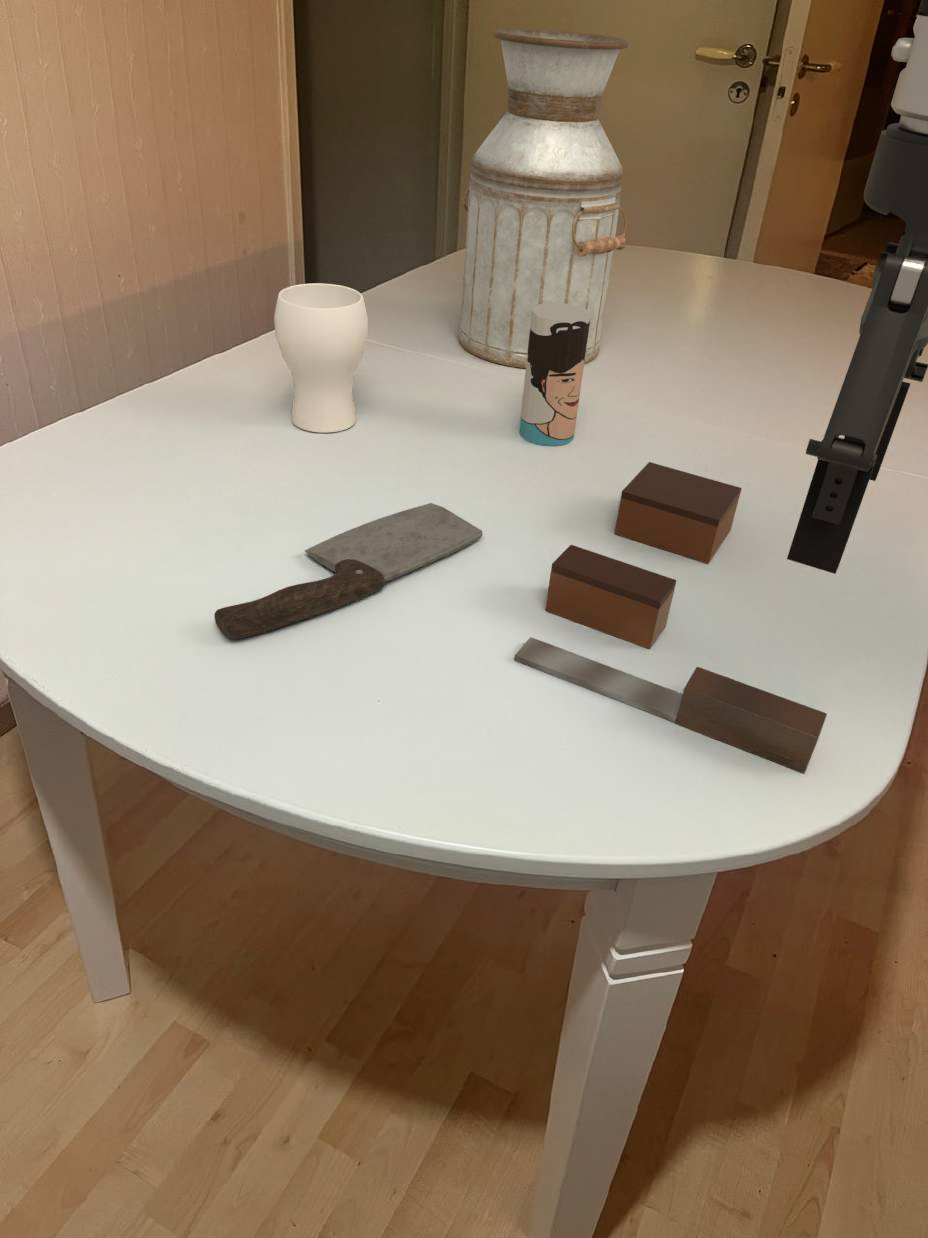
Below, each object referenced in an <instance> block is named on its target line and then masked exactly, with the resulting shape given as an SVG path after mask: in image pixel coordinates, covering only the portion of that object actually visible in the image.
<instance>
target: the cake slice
mask: <svg viewBox="0 0 928 1238" xmlns="http://www.w3.org/2000/svg"><path fill="white" fill-rule="evenodd" d="M550 568H551V569H550V573H549V582H548V587H547V588H548V589H547V594H546V603H545V612H548V613H551V614H552V615H553V614H554V615H557V616H559V617H561V618H564V619H567V620H570V621H573V622H575V623H578V624H580V625H583V626H586V627H589V628H591V629H594V630H597V631H600V632H602V633H604V634H608V635H610V636H613V637H615V638H618V639H621V640H623V641H627V642H629V643H631V644H634V645H637V646H640V647H643V648H645V649H648V650H651V648H652V647H653V646H654V644H655V643H656V641H657V640H658V639H659V637H660V636H661V634H662V633H663V632H664V630H665V629H666V626H667V624H668V623H667V622H668V618H669V614H670V610H671V607H672V606H671V605H672V602H673V597H674V595H675V594H674V593H675V590H676V586H677V585H676V584H677V579H675V578H672V577H669V576H666V575H662V574H660V573H657V572H654V571H650V570H648V569H646V568H645V569H644V568H642V567H639V566H636V565H633V564H630V563H627V562H625V561H621V560H618V559H615V558H612V557H609V556H607V555H605V554H604V555H603V554H601V553H597V552H594V551H592V550H588V549H585V548H582V547H580V546H577V545H573V544H570V545H569V546H568V547H567V548H566V549H565V550H564V551H562V552H561V554H560V555H559V556H558V557H557V558H556V559H555V560H554V561H553V562H552V563H551V567H550Z"/></svg>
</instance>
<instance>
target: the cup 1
mask: <svg viewBox="0 0 928 1238" xmlns="http://www.w3.org/2000/svg"><path fill="white" fill-rule="evenodd" d="M273 321H274V322H273V323H274V336H275V339H276V341H277V342H276V343H277V344H278V347H279V348H278V349H279V350H280V354H281V356H282V358H283V360H284V362H285V363H286V366H287V367H288V369H289V370H290V372H291V377H292V382H293V388H294V395H293V404H292V412H291V421H292V423H293V425H294V426H296V427H297V428H299V429H300V430H301V429H302V430H304V431H307V432H313V433H323V434H326V433H328V434H329V433H336V432H342V431H345V430H348V429H349V428H351V427H353V426H354V425H355V423H356V421H357V417H356V409H355V404H354V398H353V392H352V390H353V383H354V375H355V372H356V370H357V368H358V366H359V364H360V362H361V360H362V359H363V356H364V352H365V349H366V346H367V342H368V337H369V317H368V312H367V308H366V304H365V300H364V296H363V295H362V293H361V292H359V291H358V290H357V289H354V288H352V287H348V286H345V285H340V284H335V283H321V282H315V283H301V284H296V285H290V286H287V287H285V288H283V289H281V290H280V291H279V292H278V296H277V299H276V305H275V310H274V316H273Z"/></svg>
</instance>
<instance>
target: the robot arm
mask: <svg viewBox="0 0 928 1238" xmlns="http://www.w3.org/2000/svg"><path fill="white" fill-rule="evenodd" d="M917 13H920V14H917V16H916V19H915V22H914V24H913V27H912V31H913V35H914V37H901V38H898V39H897V41H896V42H895V44H894V45H893V46H892V49H891V54H890V55H891V57H892V59H893V61H896V62H900V63H901V62H902V63H906V67H905V68H903V69H902V70H901V71H900V72H899V75H898V79H897V82H896V85H895V89H894V92H893V96H892V98H891V103H890V106H891V108H892V110H893V112H895V113H896V114H897V115H899V116H900V118H899V122H895V123H890V124H888V125H887V127H886V129H884V130H881V132H880V135H879V139H878V142H877V145H876V149H875V152H874V156H873V159H872V163H871V166H870V169H869V173H868V177H867V180H866V184H865V187H864V190H863V191H864V192H863V200H864V202H865V204H866V205H867V207H869V208H870V209H872V210H873V211H875V212H877V213H878V214H879V213H880V214H881V215H885V216H887V217H898V218H900V219H901V220H902V221H903V222H904V223H905V226H904V229H903V232H902V235H901V237H900V240H899V242H898V243H894V242H888V243H887V245H886V248H885V250H884V251H881V252H880V254H879V256H878V258H877V262H876V264H875V267H874V270H873V272H872V278H871V279H872V280H871V284H870V285H871V291H870V294H869V297H868V298H867V299H868V300H867V302H866V305H865V306H864V309H863V312H862V315H861V318H860V323H859V324H860V325H859V331H858V332H859V337H858V340H857V343H856V346H855V349H854V350H853V351H854V352H853V354H852V357H851V360H850V363H849V365H848V367H847V368H848V369H847V371H846V374H845V377H844V380H843V381H842V385H841V388H840V390H839V393H838V397H837V399H836V402H835V405H834V408H833V411H832V413H831V415H830V419H829V422H828V424H827V427H826V430H825V432H824V434H823V435H824V436H823V439H822V440H816V439H813V438H810V439H809V440H808V443H807V446H806V449H805V455H808V456H812V457H815V458H816V459H817V461H816V465H815V468H814V471H813V474H812V477H811V480H810V483H809V487H808V490H807V493H806V498H805V500H804V503H803V506H802V509H801V513H800V516H799V519H798V522H797V525H796V529H795V531H794V534H793V537H792V541H791V543H790V544H791V545H790V547H789V550H788V554H787V557H786V560H788V561H791V562H794V563H797V564H801V565H804V566H807V567H811V568H814V569H818V570H821V571H825V572H827V573H831V574H833V575H836V574H837V572H838V569H839V566H840V564H841V561H842V558H843V556H844V553H845V549H846V547H847V545H848V541H849V538H850V536H851V533H852V530H853V527H854V524H855V523H856V518H857V515H858V513H859V510H860V508H861V505H862V502H863V499H864V496H865V494H866V491H867V488H868V486H869V482H870V481H873V482H876V480H877V478H878V476H879V472H880V470H881V468H882V465H883V462H884V459H885V456H886V453H887V450H888V447H889V444H890V442H891V439H892V437H893V433H894V431H895V428H896V426H897V423H898V420H899V417H900V415H901V411H902V409H903V406H904V403H905V400H906V398H907V395H908V392H909V389H910V387H911V385H912V383H911V382H906V381H904V379H907V380H910V381H916V382H918V383H919V382H920V383H923V381H924V378H925V376H926V373H927V370H928V363H925V362H924V363H923V362H919V361H918V359H919V357H922V355H923V352H924V349H925V348H926V347H927V345H928V0H920V3H919V7H918V10H917ZM840 436H844V437H843V438H842V437H840Z"/></svg>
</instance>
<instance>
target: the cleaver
mask: <svg viewBox="0 0 928 1238" xmlns="http://www.w3.org/2000/svg"><path fill="white" fill-rule="evenodd" d="M483 535H484V534H483V530H482V529H480V528H478V527H477V526H475V525H473V524H472V523H471V522H468V521H467V520H465V519H463V518H462V517H460V516H459V515H457V514H455V513H453V512H452V511H450V510H448V509H447V508H445V507H443V506H442V505H439V504H436V503H432V502H430V503H427V504H423V505H419V506H416V507H411V508H409V509H405V510H401V511H398V512H396V513H395V512H394V513H393V514H389V515H387V516H383V517H380V518H378V519H375V520H372V521H369V522H366V523H364V524H361V525H359V526H356V527H353V528H350V529H349V530H346V531H344V532H341V533H339V534H337V535H335V536H332V537H329V538H328V539H326V540H324V541H322V542H319V543H317V544H315V545H313V546H311V547H309V548H307V549H305V550H304V553H306V554H307V555H309V556H310V557H311V558H312V559H314V560H315V561H316V562H317V563H319V564H321V565H322V566H323V567H326V568H327V569H329V570H331V571H332V572H334V573H335V574H333V575H331V576H329V577H326V578H323V579H318V580H314V581H309V582H303V583H302V582H301V583H297V584H294V585H290V586H285V587H284V588H281V589H278V590H276V591H274V592H272V593H270V594H267V595H265V596H263V597H261V598H258V599H254V600H251V601H248V602H243V603H238V604H234V605H229V606H223V607H221V608H218V609H216V611H215V612H214V622H215V625H216V627H217V628H218V630H219V631H220V632H221V633H222V634H223V635H224V636H225V637H226V638H228V639H230V640H231V639H232V640H236V639H243V638H247V637H251V636H255V635H259V634H263V633H266V632H270V631H274V630H277V629H279V628H283V627H286V626H289V625H291V624H295V623H298V622H301V621H304V620H306V619H310V618H312V617H315V616H318V615H321V614H325V613H328V612H331V611H333V610H335V609H339V608H341V607H344V606H346V605H349V604H352V603H354V602H356V601H359V600H362V599H364V598H366V597H368V596H370V595H372V594H375V593H377V592H378V591H381V590H382V589H383V587H384V586H385V583H387V582H390V581H392V580H394V579H397V578H399V577H401V576H404V575H406V574H408V573H410V572H412V571H415V570H417V569H420V568H422V567H424V566H426V565H429V564H432V563H433V562H435V561H439V560H441V559H443V558H445V557H447V556H449V555H451V554H454V553H455V552H456V553H457V552H458V551H459V550H462V549H463V548H465V547H468V546H469V545H471V544H473V543H474V542H477V541H478V540H480V539H481V538H483Z"/></svg>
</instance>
